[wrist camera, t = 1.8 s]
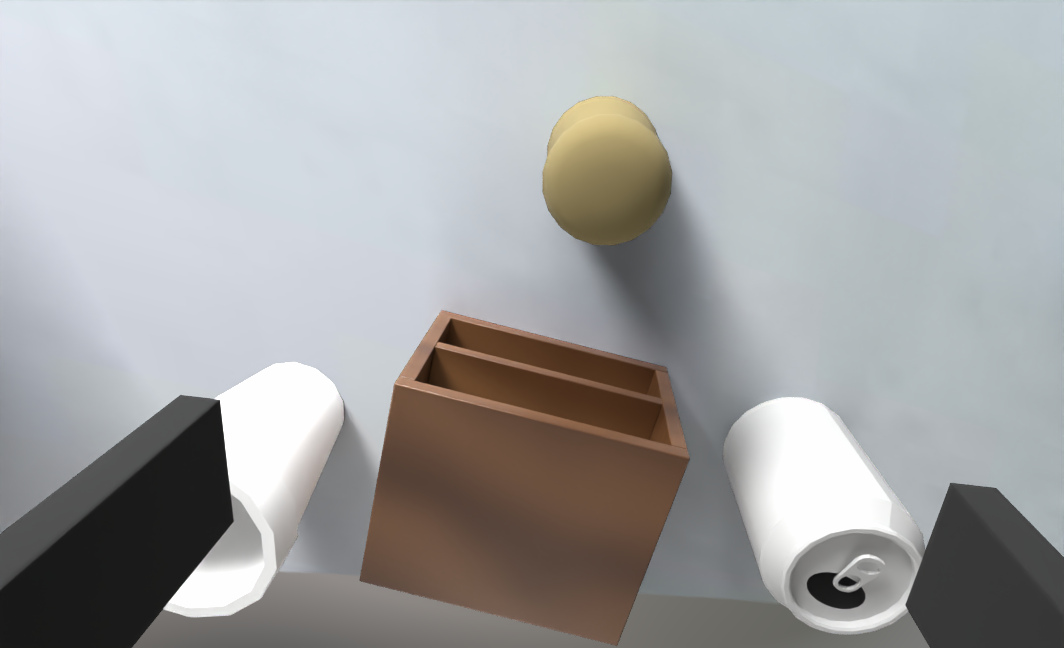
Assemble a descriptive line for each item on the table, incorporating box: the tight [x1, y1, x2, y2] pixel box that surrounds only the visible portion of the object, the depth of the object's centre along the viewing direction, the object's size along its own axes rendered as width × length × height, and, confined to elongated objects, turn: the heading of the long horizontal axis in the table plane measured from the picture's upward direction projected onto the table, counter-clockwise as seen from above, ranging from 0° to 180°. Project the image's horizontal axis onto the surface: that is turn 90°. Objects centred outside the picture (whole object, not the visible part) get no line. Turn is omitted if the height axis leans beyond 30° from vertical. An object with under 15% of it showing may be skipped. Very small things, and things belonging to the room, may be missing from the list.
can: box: [723, 397, 925, 635], centre depth 34 cm, size 8×8×12 cm
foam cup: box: [163, 362, 344, 617], centre depth 36 cm, size 10×9×13 cm
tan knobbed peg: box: [543, 97, 672, 245], centre depth 30 cm, size 6×6×11 cm
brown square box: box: [360, 311, 690, 646], centre depth 36 cm, size 12×14×10 cm
